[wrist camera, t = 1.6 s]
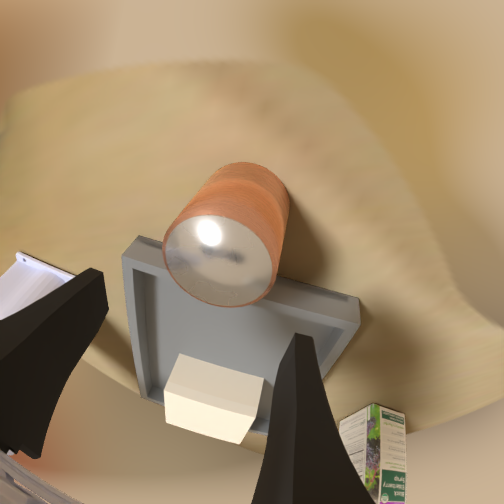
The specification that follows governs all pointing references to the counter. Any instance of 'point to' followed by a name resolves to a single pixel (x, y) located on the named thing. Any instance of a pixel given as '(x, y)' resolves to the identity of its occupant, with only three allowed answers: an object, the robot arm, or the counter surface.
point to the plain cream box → (211, 399)
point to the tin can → (229, 237)
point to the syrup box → (378, 451)
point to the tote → (226, 326)
